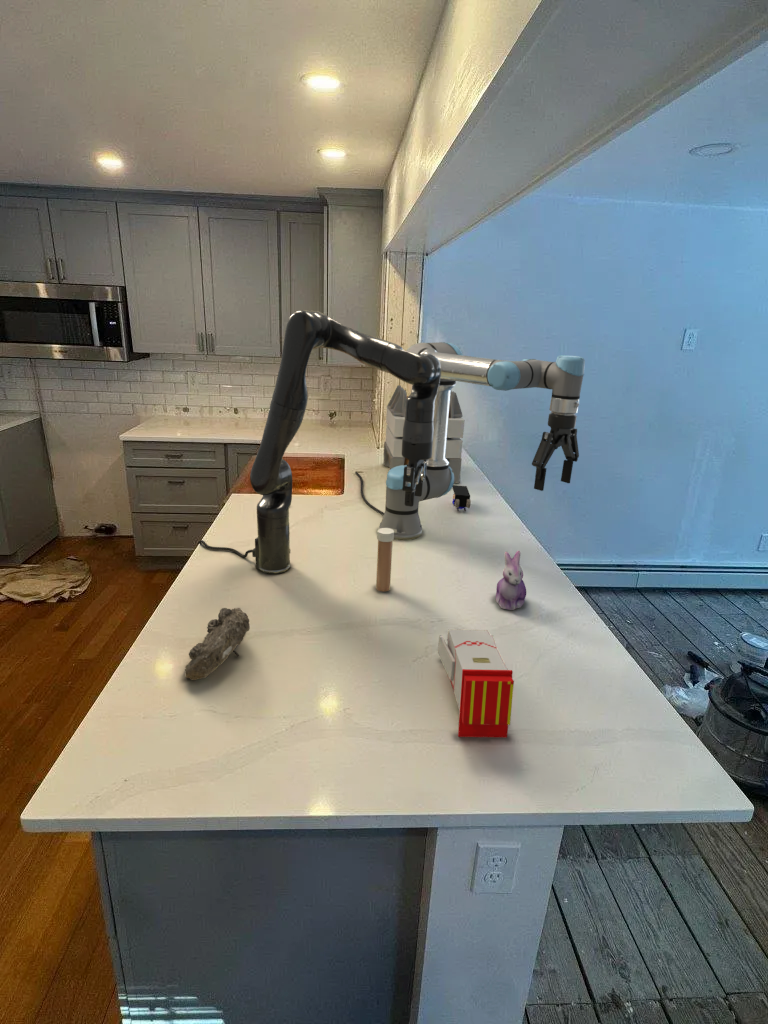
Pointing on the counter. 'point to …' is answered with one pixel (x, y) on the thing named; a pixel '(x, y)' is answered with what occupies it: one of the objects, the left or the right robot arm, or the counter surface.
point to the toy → (478, 682)
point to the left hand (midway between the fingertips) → (413, 500)
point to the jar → (384, 566)
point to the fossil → (217, 643)
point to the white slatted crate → (395, 433)
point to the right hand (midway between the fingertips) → (552, 485)
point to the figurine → (511, 584)
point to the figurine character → (461, 497)
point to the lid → (385, 534)
